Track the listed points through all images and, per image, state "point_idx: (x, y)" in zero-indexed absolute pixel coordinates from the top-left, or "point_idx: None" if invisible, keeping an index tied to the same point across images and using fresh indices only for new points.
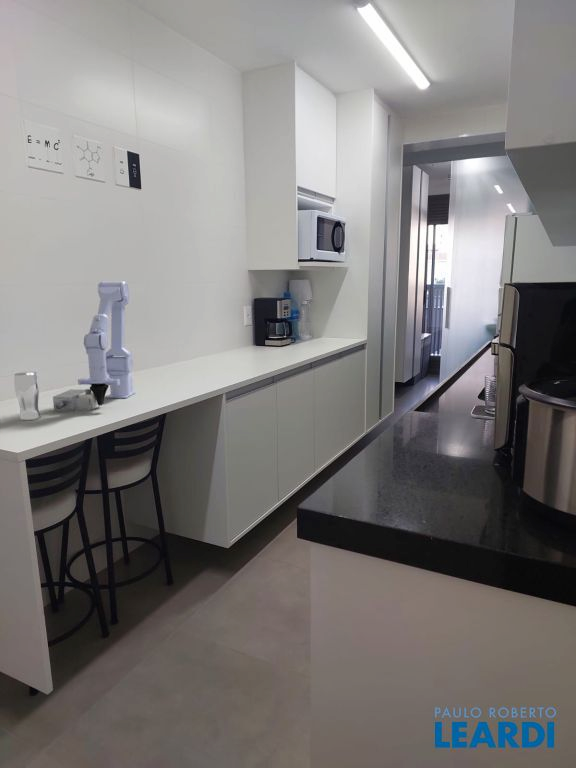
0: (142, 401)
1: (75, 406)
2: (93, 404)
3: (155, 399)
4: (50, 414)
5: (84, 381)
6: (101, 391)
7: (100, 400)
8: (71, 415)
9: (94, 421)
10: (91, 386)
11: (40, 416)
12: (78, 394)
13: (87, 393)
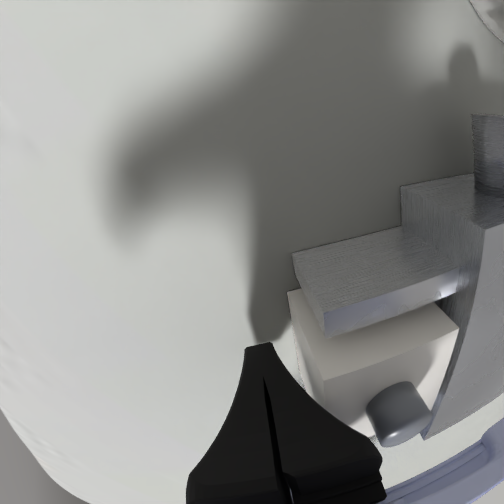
0: (140, 461)
1: (417, 233)
2: (297, 324)
3: (123, 477)
4: (476, 78)
5: (469, 482)
6: (213, 450)
7: (243, 374)
8: (332, 60)
9: (22, 12)
10: (369, 472)
11: (478, 10)
12: (462, 342)
13: (394, 391)
